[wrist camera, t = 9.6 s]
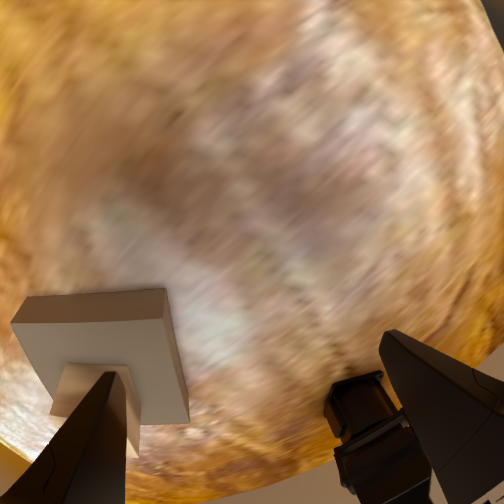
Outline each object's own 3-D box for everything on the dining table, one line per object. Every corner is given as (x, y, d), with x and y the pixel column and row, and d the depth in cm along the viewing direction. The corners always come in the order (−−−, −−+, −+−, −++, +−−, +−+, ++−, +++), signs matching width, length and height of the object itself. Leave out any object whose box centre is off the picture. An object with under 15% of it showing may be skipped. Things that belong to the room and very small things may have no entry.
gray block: (166, 284, 21) (162, 318, 18) (188, 390, 26) (190, 423, 23) (29, 293, 19) (9, 323, 16) (76, 391, 24) (68, 421, 21)
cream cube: (127, 365, 19) (119, 422, 14) (141, 406, 21) (138, 457, 17) (66, 362, 18) (49, 415, 14) (86, 403, 20) (76, 451, 16)
